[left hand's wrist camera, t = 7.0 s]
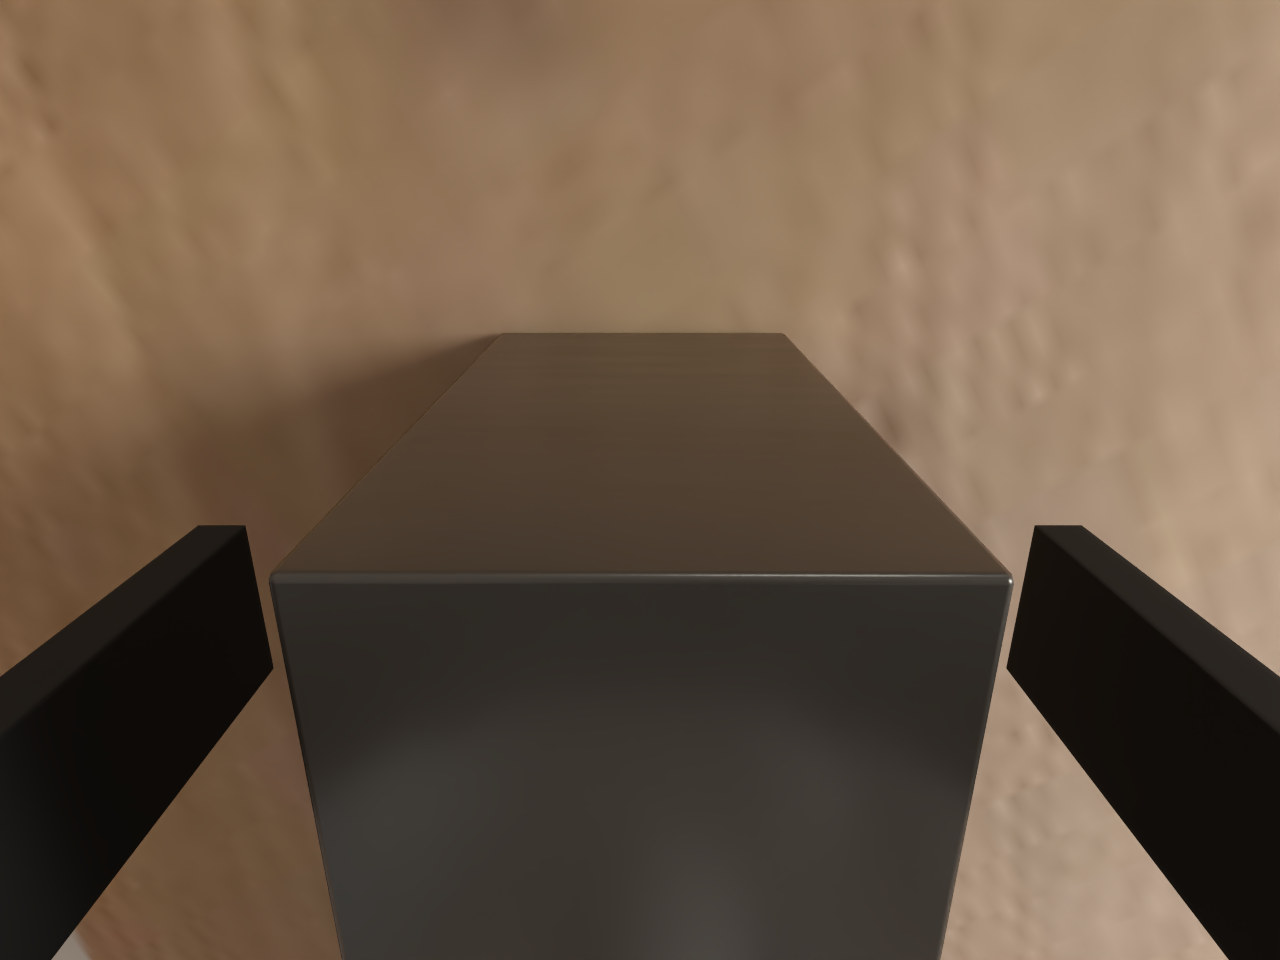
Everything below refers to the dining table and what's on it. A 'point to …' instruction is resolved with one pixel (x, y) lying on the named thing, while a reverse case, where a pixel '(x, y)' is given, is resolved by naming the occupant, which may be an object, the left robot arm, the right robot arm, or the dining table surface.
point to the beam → (641, 667)
